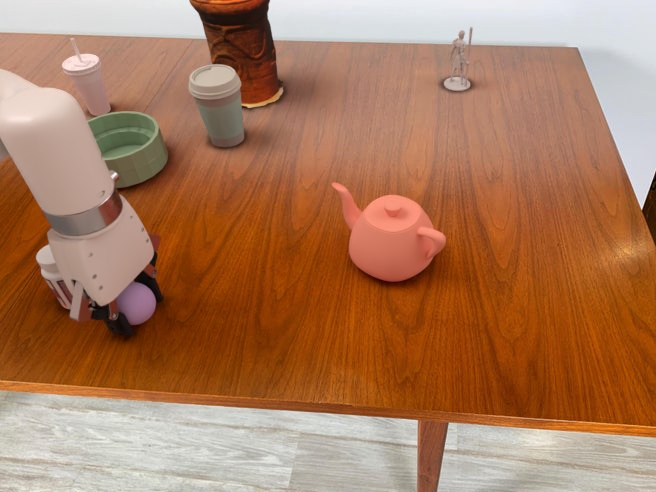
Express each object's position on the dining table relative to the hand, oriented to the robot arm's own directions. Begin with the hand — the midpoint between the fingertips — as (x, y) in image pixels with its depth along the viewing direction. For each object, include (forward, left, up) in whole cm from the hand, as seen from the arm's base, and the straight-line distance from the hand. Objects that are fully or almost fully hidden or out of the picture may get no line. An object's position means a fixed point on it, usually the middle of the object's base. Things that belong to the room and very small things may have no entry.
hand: (137, 313), depth 75 cm
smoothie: (-13, +54, -1) cm, 56 cm away
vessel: (+15, +56, -1) cm, 58 cm away
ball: (0, 0, +2) cm, 2 cm away
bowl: (-6, +35, -1) cm, 35 cm away
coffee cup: (+11, +40, -1) cm, 42 cm away
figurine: (+56, +51, -1) cm, 76 cm away
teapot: (+34, +6, -1) cm, 34 cm away
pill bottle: (-8, +5, -1) cm, 10 cm away
